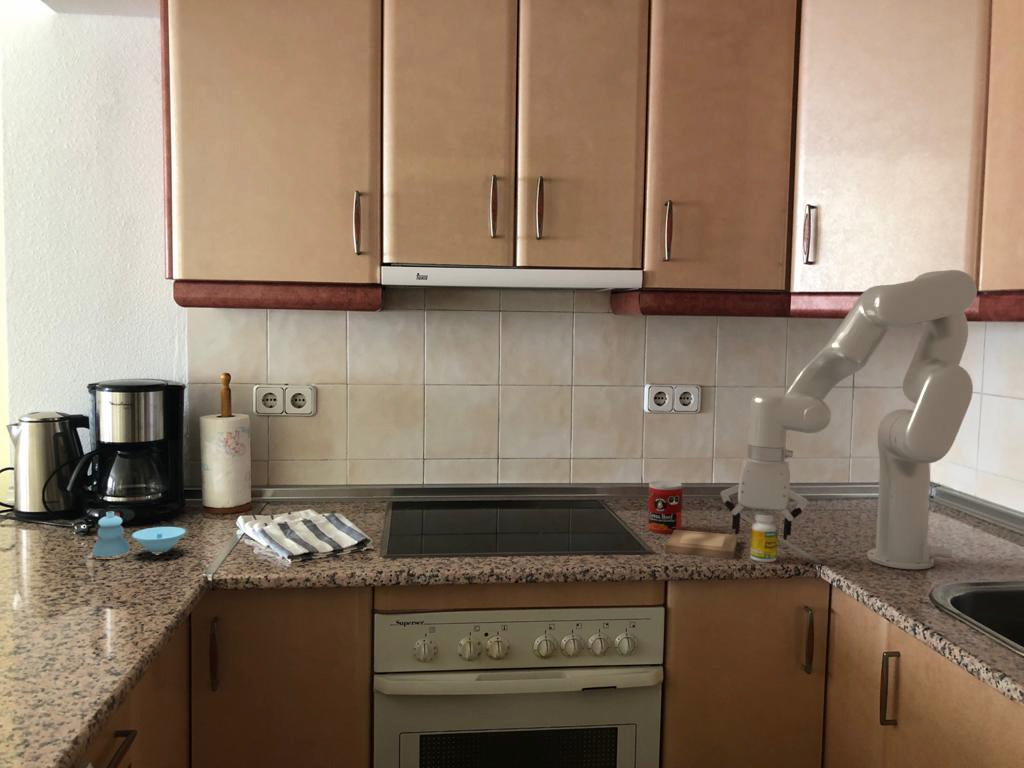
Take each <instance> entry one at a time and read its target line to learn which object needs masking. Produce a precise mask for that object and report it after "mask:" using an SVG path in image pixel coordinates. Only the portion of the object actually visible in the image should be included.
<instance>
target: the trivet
mask: <svg viewBox="0 0 1024 768" xmlns="http://www.w3.org/2000/svg"><path fill="white" fill-rule="evenodd" d="M738 537H739V534H728V533H726V534H725V533H716V532H706V531H705V532H704V531H694V530H692V531H691V530H683V529H680V530H674V532H673V533H672V534H671V535H670V537H669V538H668V540H667V542H666V543H665V553H672V554H673V553H674V554H682V555H683V554H684V555H691V556H692V555H693V556H703V557H712V558H725V559H734V556H735V553H736V549H737V546H738V542H739V541H738Z"/></svg>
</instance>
